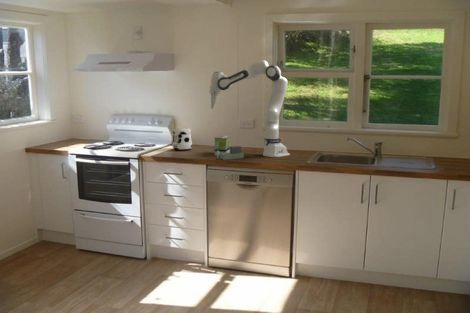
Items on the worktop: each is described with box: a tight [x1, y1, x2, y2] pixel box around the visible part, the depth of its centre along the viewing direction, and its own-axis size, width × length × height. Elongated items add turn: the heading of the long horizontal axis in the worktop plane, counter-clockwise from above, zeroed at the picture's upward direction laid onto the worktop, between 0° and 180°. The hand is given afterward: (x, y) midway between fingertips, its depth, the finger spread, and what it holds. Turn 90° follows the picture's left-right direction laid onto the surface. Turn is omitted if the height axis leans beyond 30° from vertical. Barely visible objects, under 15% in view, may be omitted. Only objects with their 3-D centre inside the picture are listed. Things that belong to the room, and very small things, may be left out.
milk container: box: [172, 127, 193, 151], centre depth 396 cm, size 17×17×18 cm
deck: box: [216, 145, 245, 161], centre depth 357 cm, size 20×9×9 cm, turn 119°
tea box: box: [214, 135, 231, 157], centre depth 374 cm, size 15×10×15 cm, turn 168°
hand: (212, 107), depth 376 cm, fingers open, 8 cm apart
